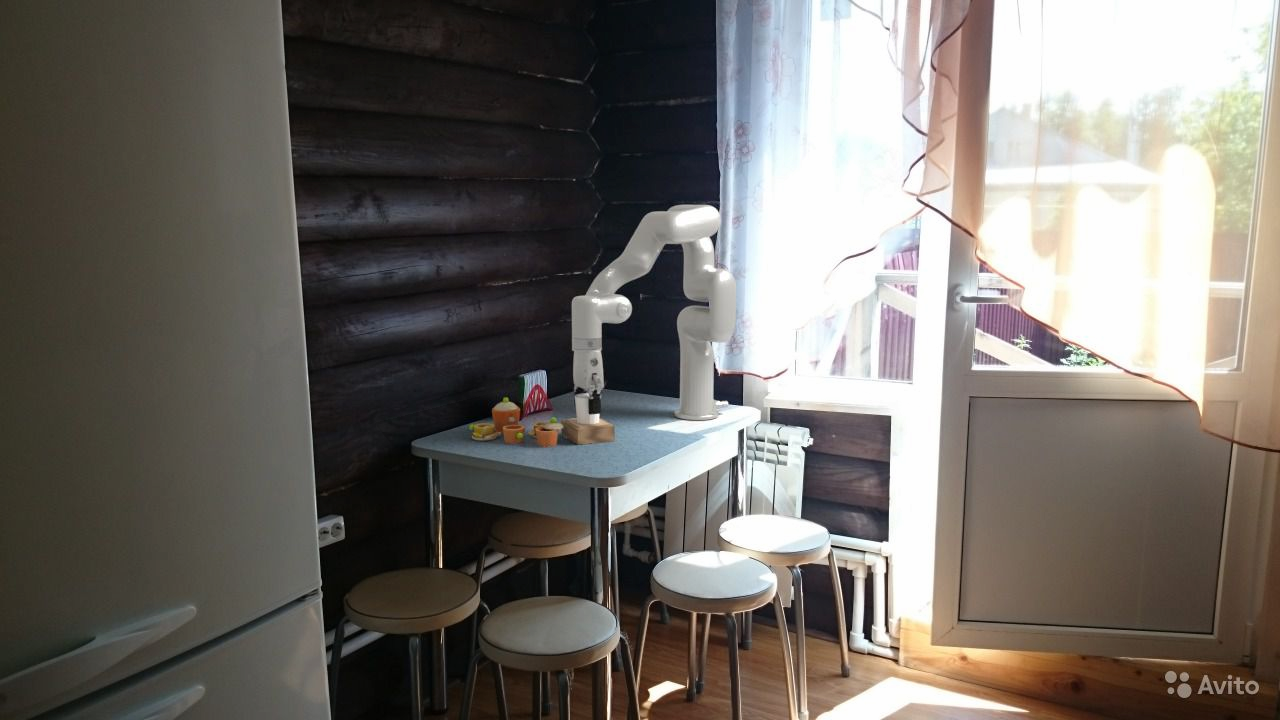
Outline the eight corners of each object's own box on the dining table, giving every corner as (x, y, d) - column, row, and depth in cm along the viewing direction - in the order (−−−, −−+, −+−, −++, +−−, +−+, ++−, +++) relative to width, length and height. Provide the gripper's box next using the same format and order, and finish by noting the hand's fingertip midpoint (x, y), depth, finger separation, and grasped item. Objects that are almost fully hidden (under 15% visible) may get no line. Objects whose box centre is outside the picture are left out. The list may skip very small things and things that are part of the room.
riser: (596, 431, 245) (596, 415, 244) (614, 440, 234) (614, 424, 233) (561, 434, 240) (561, 418, 240) (578, 445, 230) (577, 428, 229)
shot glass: (603, 419, 239) (603, 393, 238) (598, 425, 233) (598, 398, 232) (578, 418, 240) (577, 392, 239) (572, 424, 234) (571, 397, 233)
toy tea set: (462, 441, 235) (461, 404, 234) (495, 428, 249) (494, 393, 248) (552, 451, 225) (551, 413, 223) (581, 437, 239) (580, 401, 238)
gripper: (613, 348, 227) (614, 415, 230) (587, 339, 243) (588, 402, 245) (585, 349, 224) (586, 418, 227) (561, 341, 240) (562, 405, 242)
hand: (587, 410), depth 236 cm, fingers open, 9 cm apart
